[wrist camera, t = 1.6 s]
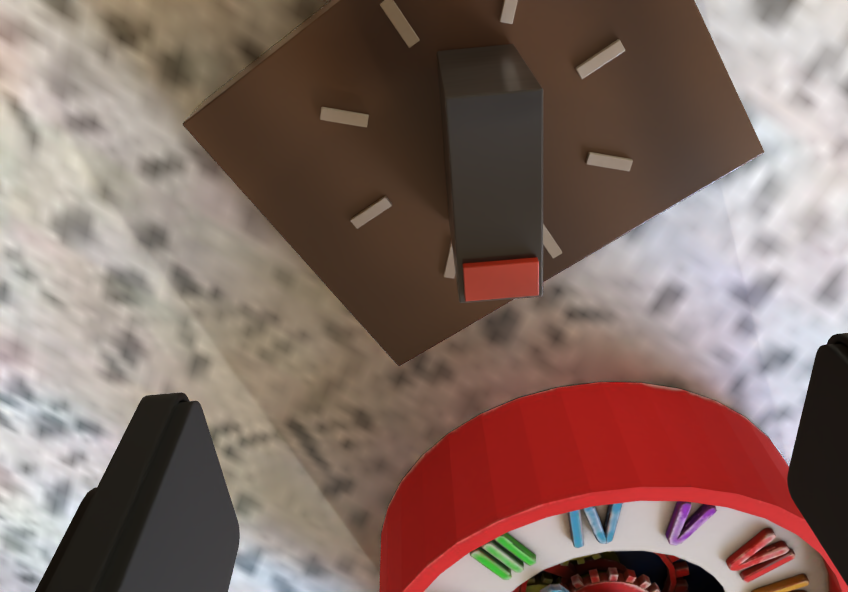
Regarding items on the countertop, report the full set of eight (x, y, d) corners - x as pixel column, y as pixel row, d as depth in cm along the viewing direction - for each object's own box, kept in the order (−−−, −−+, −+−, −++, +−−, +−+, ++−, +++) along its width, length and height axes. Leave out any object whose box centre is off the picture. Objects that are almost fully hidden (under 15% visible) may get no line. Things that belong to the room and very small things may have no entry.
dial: (436, 50, 20) (445, 100, 15) (514, 43, 20) (545, 91, 15) (449, 223, 23) (459, 309, 18) (517, 217, 23) (545, 301, 18)
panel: (578, -195, 19) (602, -205, 17) (733, 128, 24) (767, 154, 22) (202, 101, 23) (180, 125, 21) (399, 329, 28) (398, 369, 25)
